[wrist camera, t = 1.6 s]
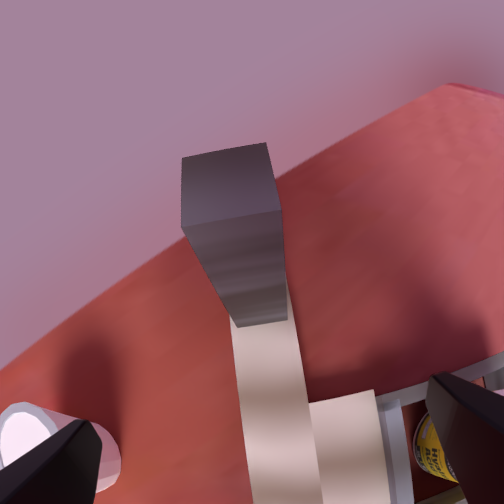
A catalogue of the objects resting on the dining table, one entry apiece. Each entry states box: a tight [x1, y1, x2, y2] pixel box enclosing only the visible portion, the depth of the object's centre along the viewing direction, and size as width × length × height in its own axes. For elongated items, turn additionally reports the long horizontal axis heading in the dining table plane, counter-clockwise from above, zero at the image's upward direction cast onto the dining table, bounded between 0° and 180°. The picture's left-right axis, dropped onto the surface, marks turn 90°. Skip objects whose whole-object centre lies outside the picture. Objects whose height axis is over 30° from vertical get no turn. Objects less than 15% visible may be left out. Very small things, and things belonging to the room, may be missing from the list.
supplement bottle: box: [413, 389, 504, 483], centre depth 12 cm, size 5×5×10 cm
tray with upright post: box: [181, 143, 504, 504], centre depth 13 cm, size 19×18×13 cm
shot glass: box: [0, 402, 121, 493], centre depth 15 cm, size 7×7×7 cm
